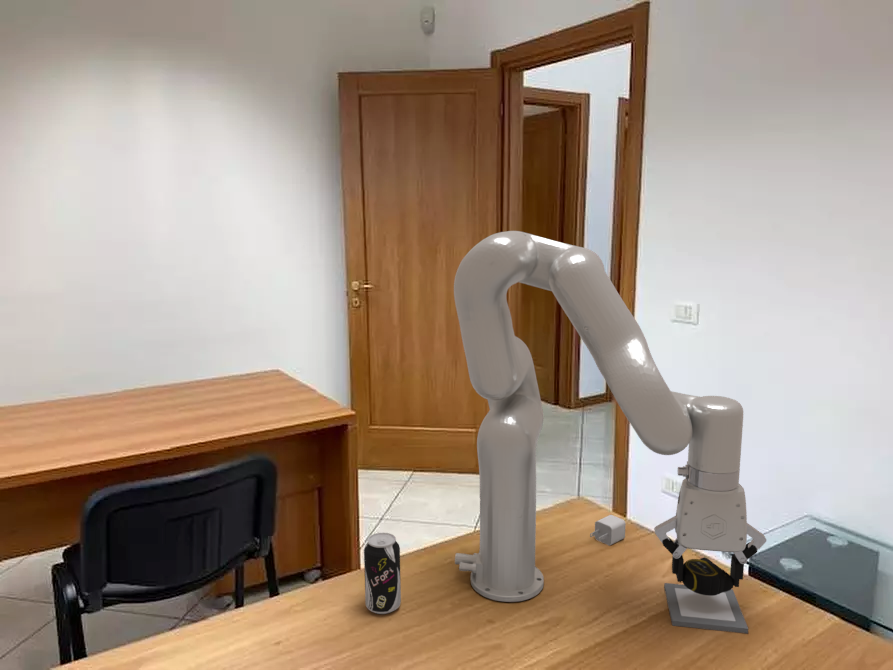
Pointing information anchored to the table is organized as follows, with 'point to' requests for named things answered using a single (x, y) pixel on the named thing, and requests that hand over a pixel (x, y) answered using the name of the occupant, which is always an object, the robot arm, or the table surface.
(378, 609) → the beverage can
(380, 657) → the table surface
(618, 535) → the usb wall charger
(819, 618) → the table surface
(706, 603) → the coaster
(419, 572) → the table surface
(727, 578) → the tape measure
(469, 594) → the table surface
